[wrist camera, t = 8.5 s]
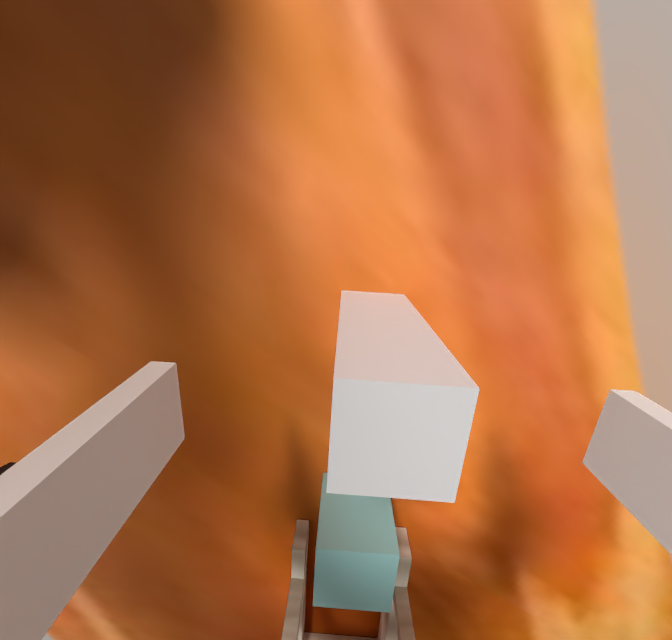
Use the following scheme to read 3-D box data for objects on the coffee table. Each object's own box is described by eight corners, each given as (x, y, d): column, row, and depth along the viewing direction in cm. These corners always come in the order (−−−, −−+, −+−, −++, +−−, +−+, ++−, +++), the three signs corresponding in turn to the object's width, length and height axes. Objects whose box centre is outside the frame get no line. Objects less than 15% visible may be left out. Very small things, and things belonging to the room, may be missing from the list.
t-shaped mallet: (333, 289, 20) (315, 376, 9) (411, 294, 20) (497, 389, 9) (320, 521, 26) (298, 758, 14) (380, 526, 26) (407, 768, 14)
